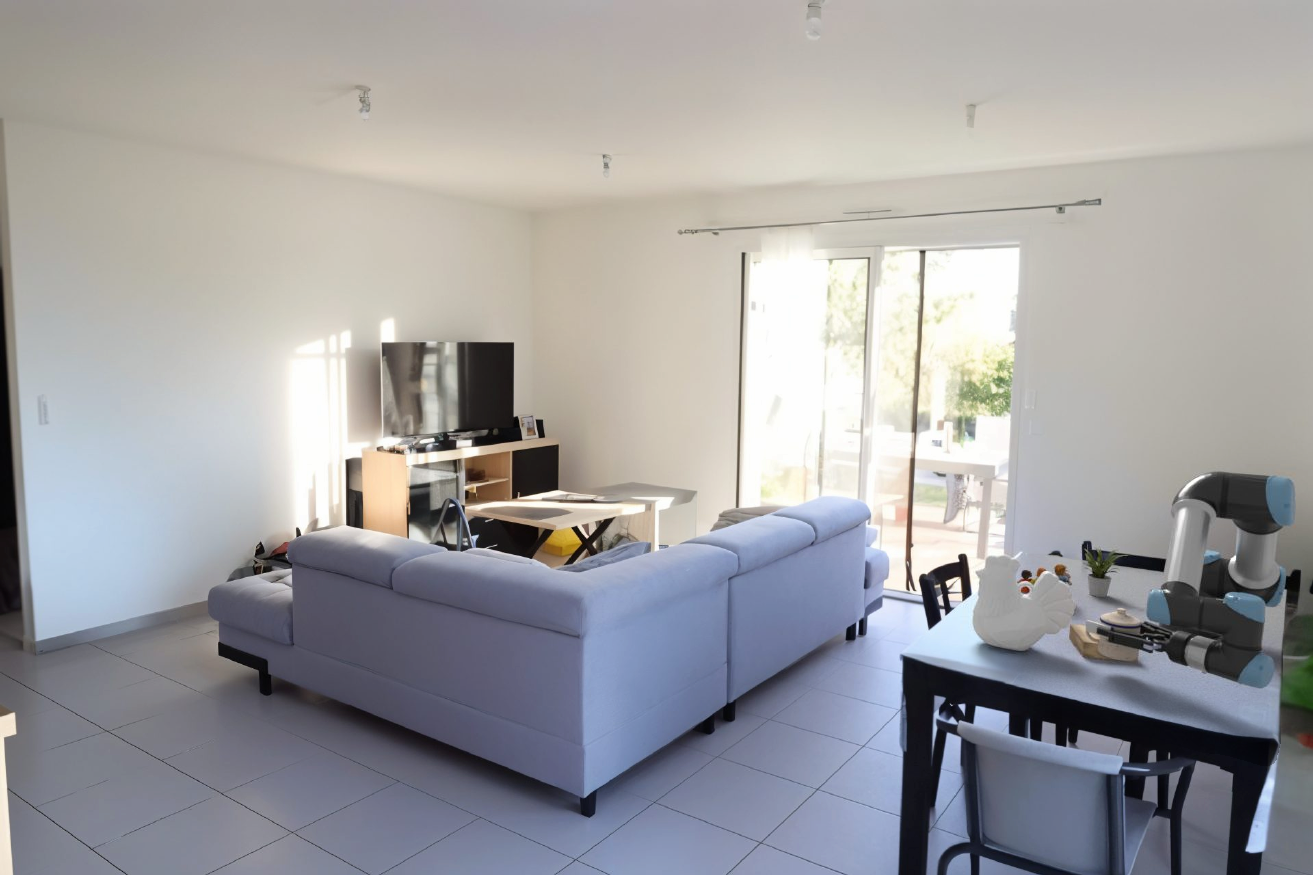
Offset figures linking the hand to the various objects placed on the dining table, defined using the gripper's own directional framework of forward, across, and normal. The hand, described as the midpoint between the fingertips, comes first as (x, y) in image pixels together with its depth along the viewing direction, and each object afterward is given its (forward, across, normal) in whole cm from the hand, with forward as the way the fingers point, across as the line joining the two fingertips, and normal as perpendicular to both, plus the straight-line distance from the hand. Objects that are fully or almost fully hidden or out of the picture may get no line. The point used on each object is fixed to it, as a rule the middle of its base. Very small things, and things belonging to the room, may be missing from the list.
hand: (1098, 622), depth 215 cm
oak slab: (+6, +14, -12) cm, 19 cm away
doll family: (+38, +38, -12) cm, 55 cm away
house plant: (+37, +66, -13) cm, 77 cm away
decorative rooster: (+17, -6, -12) cm, 21 cm away
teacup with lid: (-4, -1, -7) cm, 8 cm away
